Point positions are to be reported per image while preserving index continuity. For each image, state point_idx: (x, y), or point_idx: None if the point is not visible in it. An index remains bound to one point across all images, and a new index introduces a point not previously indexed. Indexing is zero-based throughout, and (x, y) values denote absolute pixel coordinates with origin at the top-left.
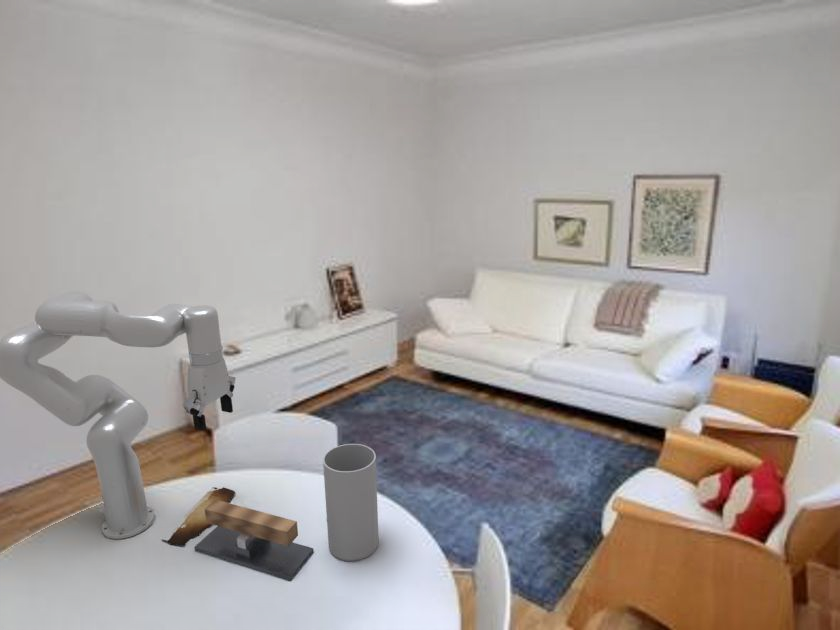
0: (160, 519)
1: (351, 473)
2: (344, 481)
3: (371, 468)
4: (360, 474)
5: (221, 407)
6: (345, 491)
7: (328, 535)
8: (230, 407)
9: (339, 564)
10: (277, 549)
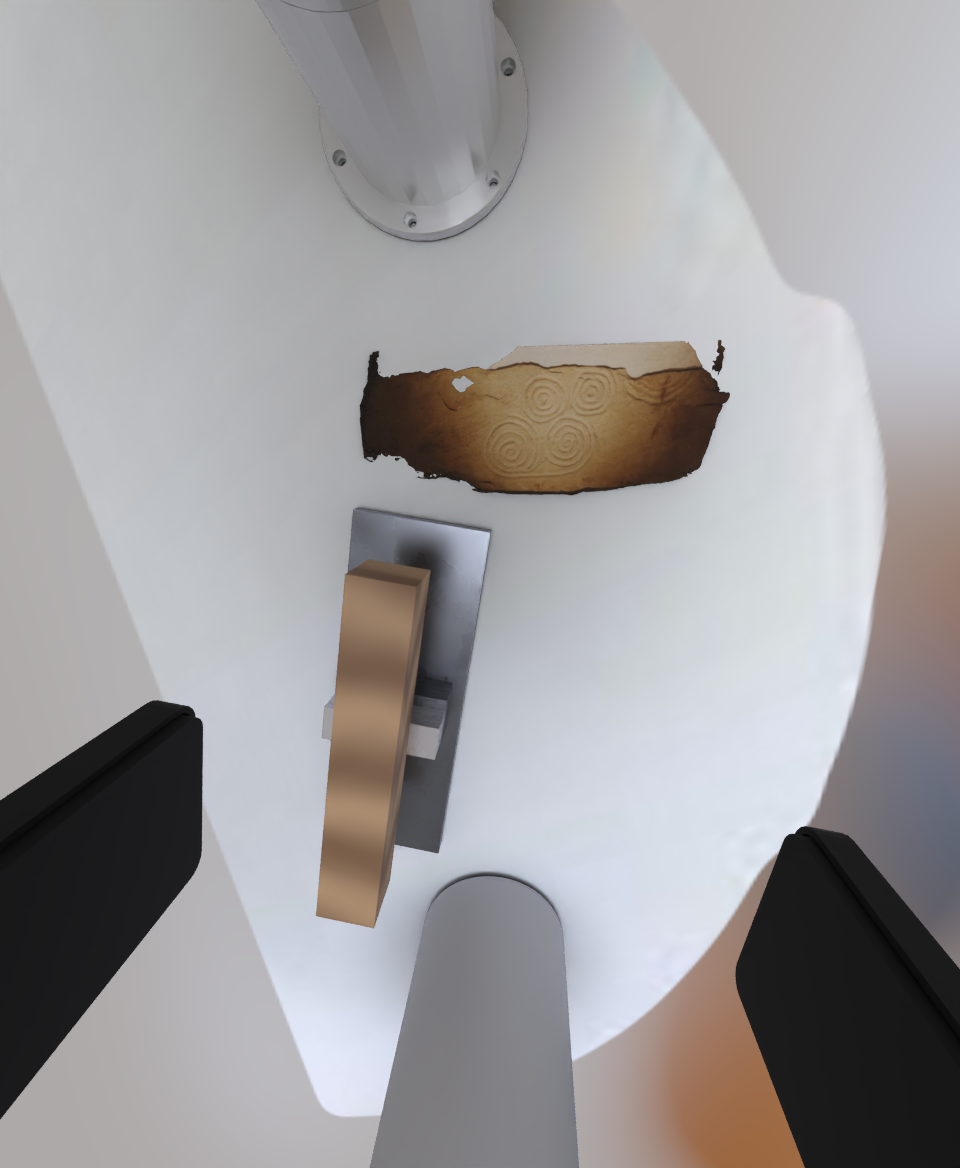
0: (477, 253)
1: None
2: None
3: None
4: None
5: (826, 889)
6: None
7: (444, 926)
8: (782, 1089)
9: (415, 910)
10: (410, 764)
